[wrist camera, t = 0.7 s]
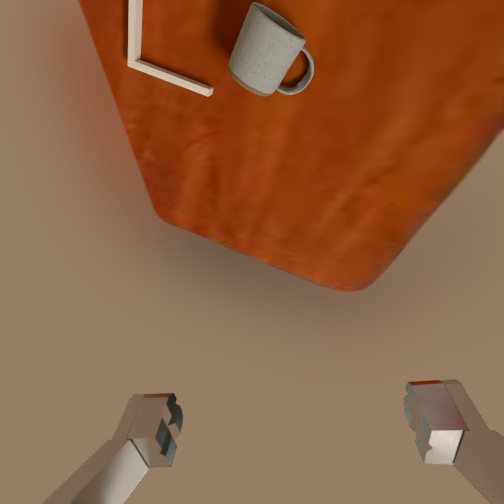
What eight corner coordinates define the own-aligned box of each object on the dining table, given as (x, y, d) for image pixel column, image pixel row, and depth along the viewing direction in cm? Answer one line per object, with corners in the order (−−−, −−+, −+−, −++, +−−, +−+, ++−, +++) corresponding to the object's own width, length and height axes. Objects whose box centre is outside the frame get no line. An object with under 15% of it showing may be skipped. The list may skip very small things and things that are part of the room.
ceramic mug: (233, 65, 44) (216, 73, 38) (260, 1, 39) (246, -2, 33) (294, 106, 46) (287, 120, 40) (328, 49, 41) (326, 55, 35)
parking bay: (138, -82, 37) (130, -86, 36) (237, -44, 37) (233, -47, 36) (134, 64, 47) (127, 66, 46) (212, 94, 47) (208, 96, 46)
